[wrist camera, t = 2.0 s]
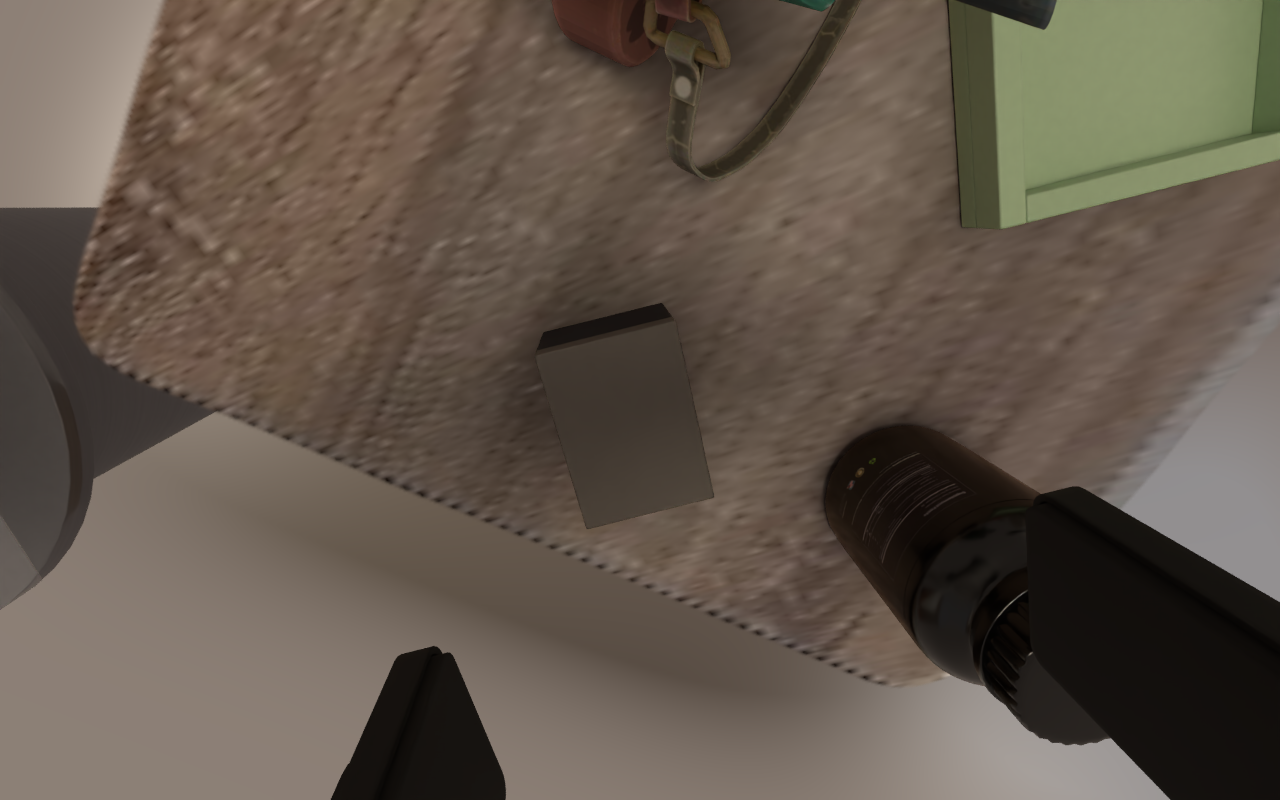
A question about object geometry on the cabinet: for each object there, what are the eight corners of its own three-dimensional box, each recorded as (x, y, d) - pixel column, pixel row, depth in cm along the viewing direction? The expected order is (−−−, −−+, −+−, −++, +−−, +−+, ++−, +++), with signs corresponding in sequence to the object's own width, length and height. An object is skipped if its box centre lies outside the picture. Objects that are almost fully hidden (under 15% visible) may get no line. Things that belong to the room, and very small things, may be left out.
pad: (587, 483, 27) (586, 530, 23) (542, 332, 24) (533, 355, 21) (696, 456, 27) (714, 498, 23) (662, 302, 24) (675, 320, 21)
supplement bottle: (993, 469, 28) (1269, 648, 17) (896, 576, 29) (1089, 810, 18) (887, 390, 26) (1112, 530, 15) (789, 508, 28) (928, 718, 16)
